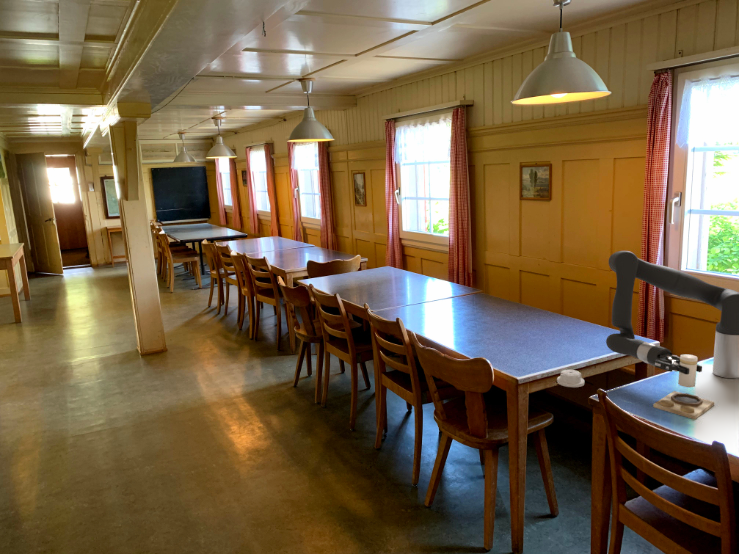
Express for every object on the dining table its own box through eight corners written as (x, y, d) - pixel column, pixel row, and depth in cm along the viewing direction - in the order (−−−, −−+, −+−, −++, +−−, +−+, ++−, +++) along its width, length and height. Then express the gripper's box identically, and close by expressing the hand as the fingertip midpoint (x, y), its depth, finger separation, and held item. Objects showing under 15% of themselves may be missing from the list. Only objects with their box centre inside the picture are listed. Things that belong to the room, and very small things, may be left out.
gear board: (674, 394, 193) (674, 388, 192) (714, 405, 183) (714, 398, 182) (653, 407, 183) (653, 401, 183) (694, 419, 173) (695, 413, 173)
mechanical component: (556, 386, 205) (584, 389, 201) (556, 375, 204) (584, 378, 200) (557, 377, 214) (584, 379, 210) (558, 366, 213) (584, 369, 209)
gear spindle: (681, 380, 186) (684, 353, 185) (697, 384, 182) (700, 356, 181) (675, 384, 183) (677, 356, 181) (691, 388, 179) (693, 360, 178)
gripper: (639, 347, 192) (679, 362, 176) (670, 342, 197) (712, 357, 181) (637, 367, 194) (677, 384, 178) (668, 362, 198) (710, 377, 182)
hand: (694, 370), depth 179 cm, fingers closed on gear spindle, 5 cm apart
